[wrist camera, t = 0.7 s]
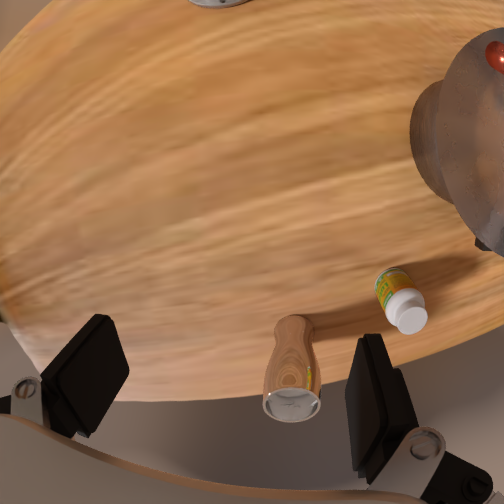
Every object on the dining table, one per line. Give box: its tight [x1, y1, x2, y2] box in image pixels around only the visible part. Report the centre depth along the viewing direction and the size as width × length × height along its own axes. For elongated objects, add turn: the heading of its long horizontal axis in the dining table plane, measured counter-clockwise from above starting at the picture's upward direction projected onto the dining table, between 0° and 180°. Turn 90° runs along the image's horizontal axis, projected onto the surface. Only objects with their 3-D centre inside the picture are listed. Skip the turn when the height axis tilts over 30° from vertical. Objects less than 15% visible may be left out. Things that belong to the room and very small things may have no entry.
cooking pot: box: [410, 79, 492, 251], centre depth 25 cm, size 25×18×10 cm
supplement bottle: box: [375, 268, 428, 335], centre depth 34 cm, size 5×5×10 cm
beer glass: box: [263, 315, 321, 422], centre depth 37 cm, size 7×7×15 cm
